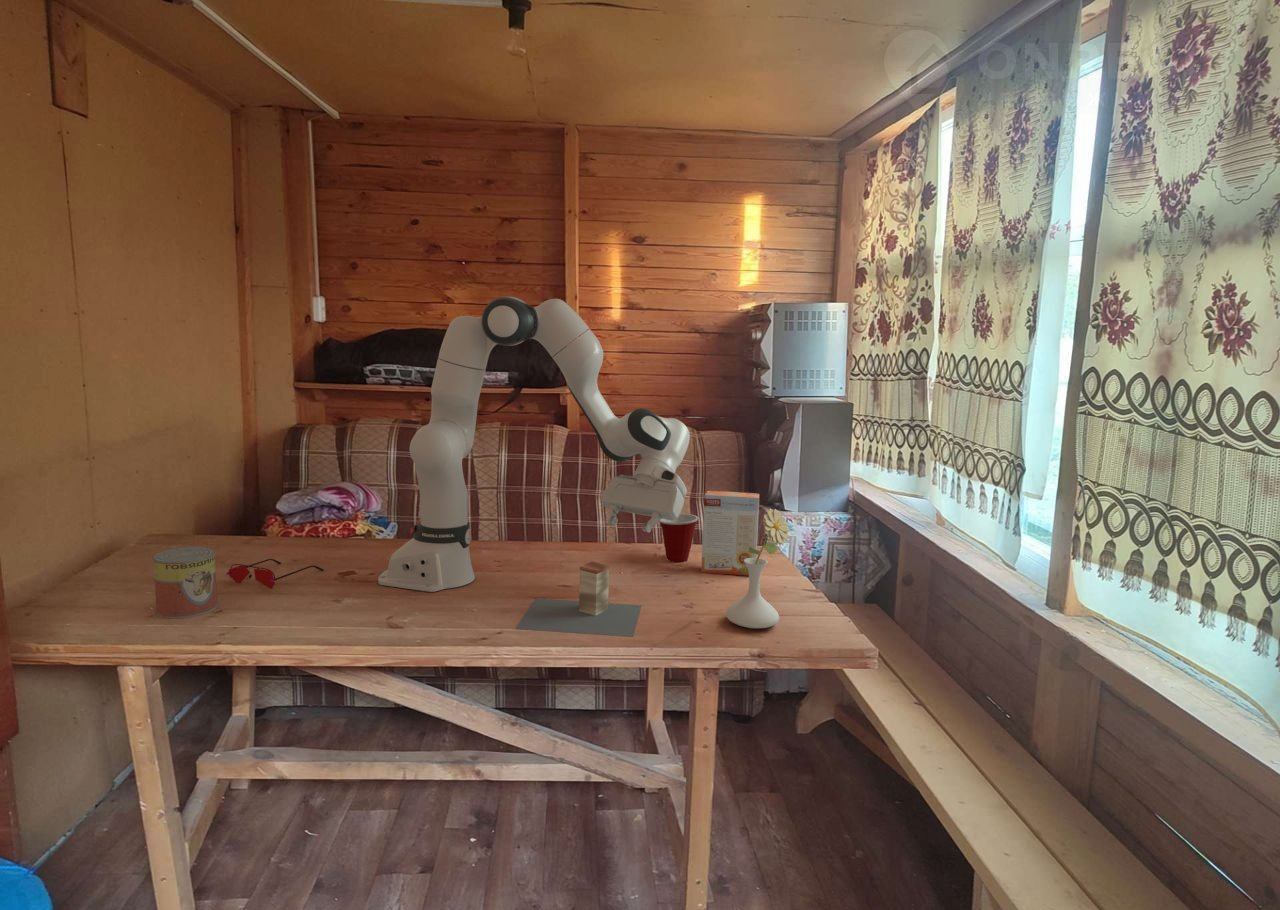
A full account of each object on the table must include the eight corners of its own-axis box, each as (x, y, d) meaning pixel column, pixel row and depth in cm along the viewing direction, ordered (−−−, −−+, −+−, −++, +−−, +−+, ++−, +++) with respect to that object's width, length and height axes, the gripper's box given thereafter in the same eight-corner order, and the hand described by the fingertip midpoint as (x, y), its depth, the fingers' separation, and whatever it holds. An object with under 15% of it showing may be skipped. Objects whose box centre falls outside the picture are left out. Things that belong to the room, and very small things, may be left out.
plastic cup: (656, 553, 212) (658, 511, 210) (695, 554, 211) (697, 512, 210) (656, 564, 201) (657, 520, 199) (696, 566, 201) (698, 522, 199)
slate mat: (515, 632, 153) (515, 628, 153) (535, 601, 170) (535, 598, 170) (633, 640, 151) (633, 636, 151) (641, 608, 168) (641, 605, 168)
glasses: (225, 583, 177) (224, 563, 176) (280, 564, 192) (279, 545, 192) (272, 592, 172) (271, 571, 172) (324, 571, 188) (324, 552, 187)
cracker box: (755, 570, 199) (760, 492, 196) (755, 577, 193) (759, 497, 190) (702, 565, 201) (706, 489, 198) (700, 572, 195) (704, 493, 192)
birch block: (595, 615, 161) (596, 570, 160) (579, 610, 164) (579, 566, 162) (608, 609, 165) (609, 565, 163) (591, 605, 167) (592, 561, 166)
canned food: (176, 622, 152) (172, 565, 151) (144, 611, 158) (140, 555, 156) (229, 606, 162) (226, 552, 160) (198, 595, 168) (195, 543, 166)
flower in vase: (743, 636, 155) (749, 517, 151) (715, 617, 165) (721, 505, 161) (796, 628, 160) (804, 513, 156) (766, 610, 170) (773, 501, 166)
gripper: (611, 465, 182) (585, 512, 175) (684, 476, 171) (660, 526, 164) (621, 481, 186) (596, 527, 180) (693, 492, 175) (670, 542, 169)
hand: (627, 527), depth 172 cm, fingers open, 8 cm apart
